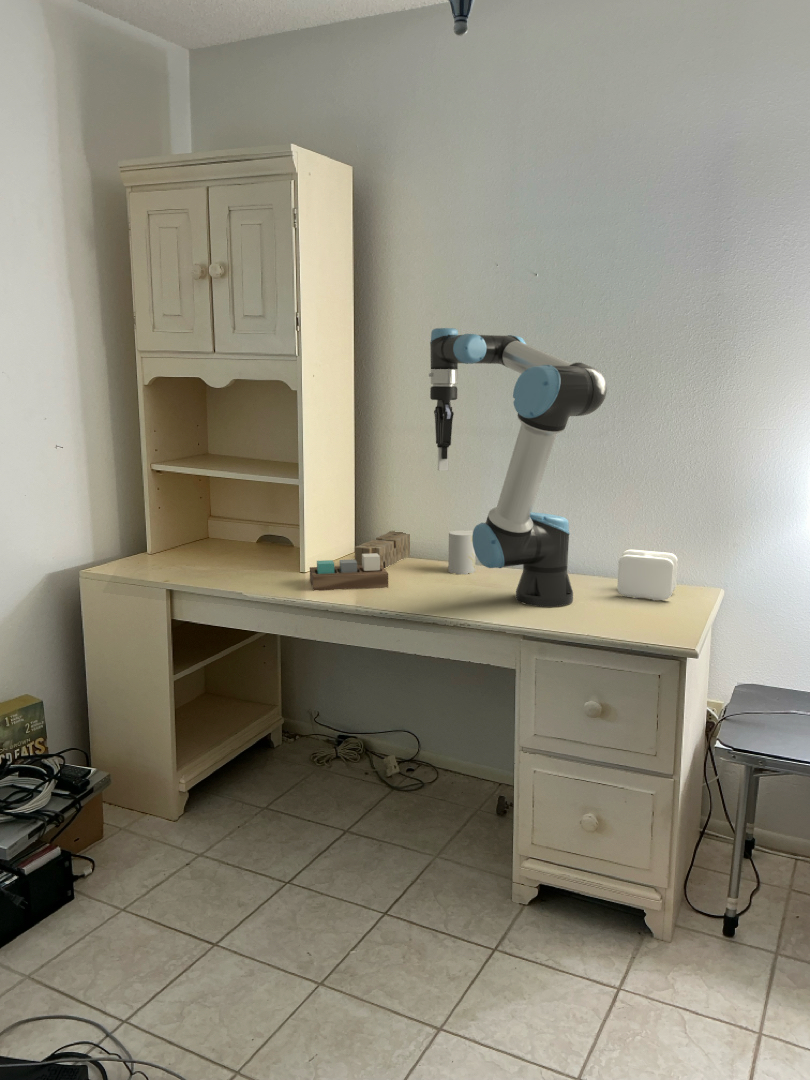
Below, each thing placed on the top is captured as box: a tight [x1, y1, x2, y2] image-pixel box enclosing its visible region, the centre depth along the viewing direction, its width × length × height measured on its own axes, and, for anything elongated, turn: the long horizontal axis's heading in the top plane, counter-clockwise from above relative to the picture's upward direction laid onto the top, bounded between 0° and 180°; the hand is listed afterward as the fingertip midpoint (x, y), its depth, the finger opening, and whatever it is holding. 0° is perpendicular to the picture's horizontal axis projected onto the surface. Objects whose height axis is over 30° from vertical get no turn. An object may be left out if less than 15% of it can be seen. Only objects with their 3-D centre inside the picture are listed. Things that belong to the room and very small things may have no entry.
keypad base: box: [309, 565, 389, 591], centre depth 250 cm, size 12×21×4 cm, turn 101°
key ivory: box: [362, 553, 380, 571], centre depth 250 cm, size 4×4×4 cm
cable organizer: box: [616, 549, 679, 601], centre depth 238 cm, size 15×11×12 cm
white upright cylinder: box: [447, 529, 476, 575], centre depth 266 cm, size 8×8×12 cm
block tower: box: [354, 530, 411, 569], centre depth 279 cm, size 8×8×29 cm
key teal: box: [316, 559, 335, 574], centre depth 248 cm, size 4×4×4 cm
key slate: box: [338, 558, 357, 573], centre depth 249 cm, size 4×4×4 cm
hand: (443, 470), depth 247 cm, fingers closed
